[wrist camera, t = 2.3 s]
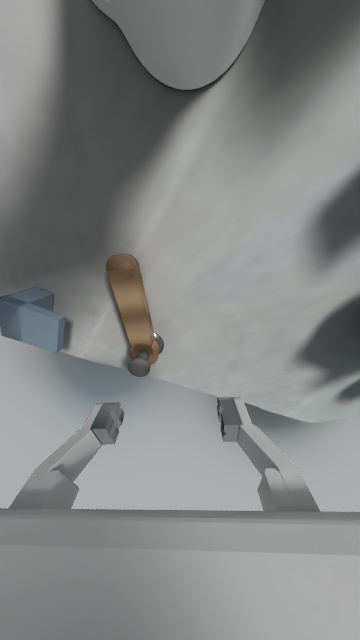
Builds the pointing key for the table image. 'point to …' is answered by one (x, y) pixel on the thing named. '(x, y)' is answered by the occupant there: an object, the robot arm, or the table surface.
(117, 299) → the link
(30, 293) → the keeper
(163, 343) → the pin washer
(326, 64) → the table surface
